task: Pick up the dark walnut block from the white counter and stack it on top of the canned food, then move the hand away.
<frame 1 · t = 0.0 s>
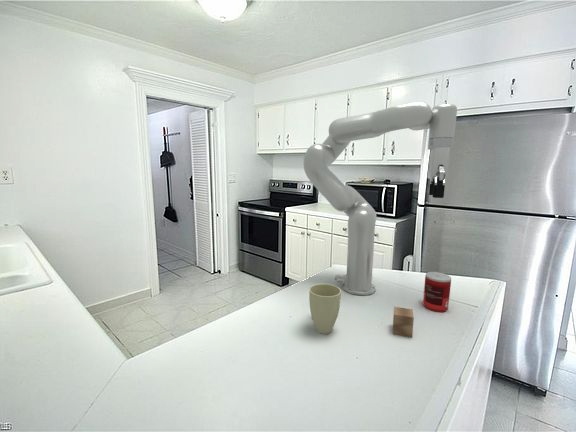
hand: (435, 196, 98), 37 cm above the worktop, tool pointing down, fingers open, 9 cm apart
walnut block: (402, 331, 83), on the worktop
canned food: (435, 307, 98), on the worktop
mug: (321, 327, 85), on the worktop
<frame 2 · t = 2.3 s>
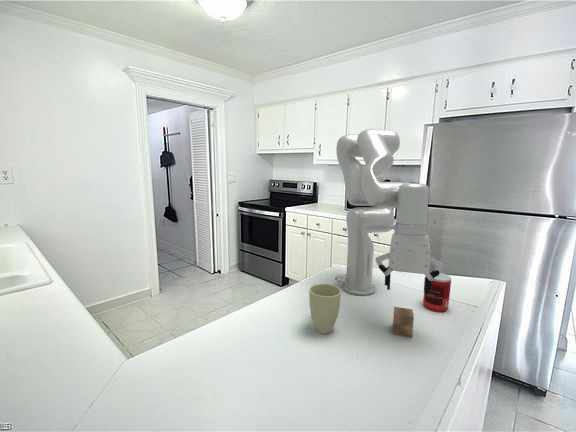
hand: (406, 290, 81), 13 cm above the worktop, tool pointing down, fingers open, 9 cm apart
nothing on the worktop moved.
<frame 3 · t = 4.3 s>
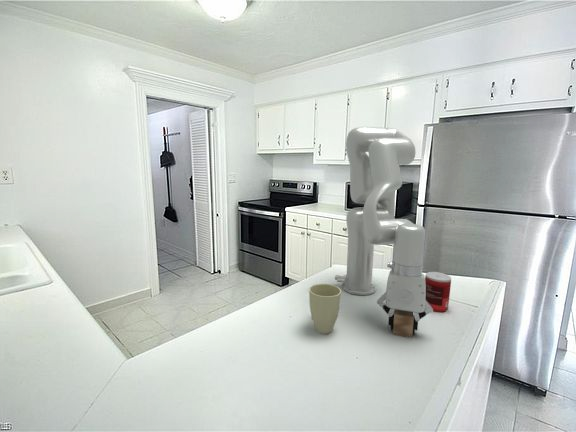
hand: (402, 329, 83), 1 cm above the worktop, tool pointing down, fingers closed on walnut block, 4 cm apart
walnut block: (402, 331, 83), on the worktop, touching gripper
everything else where it was.
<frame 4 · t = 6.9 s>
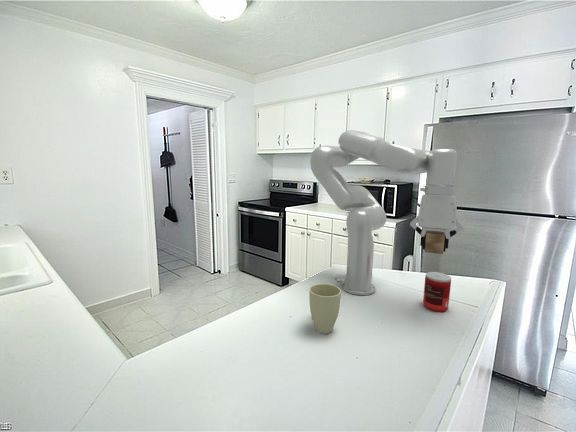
hand: (433, 248, 91), 21 cm above the worktop, tool pointing down, fingers closed on walnut block, 4 cm apart
walnut block: (433, 251, 91), point 21 cm above the worktop, touching gripper
everything else where it was.
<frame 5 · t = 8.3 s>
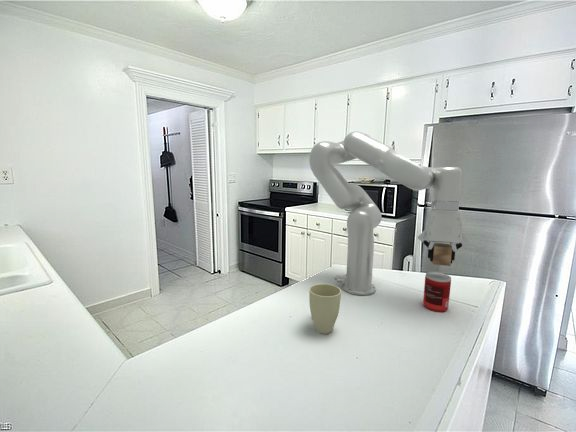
hand: (440, 260, 95), 16 cm above the worktop, tool pointing down, fingers closed on walnut block, 4 cm apart
walnut block: (440, 262, 95), point 16 cm above the worktop, touching gripper
everything else where it was.
when the fingers open (13 cm above the worktop, at t = 9.7 s): walnut block drops 1 cm, resting on canned food.
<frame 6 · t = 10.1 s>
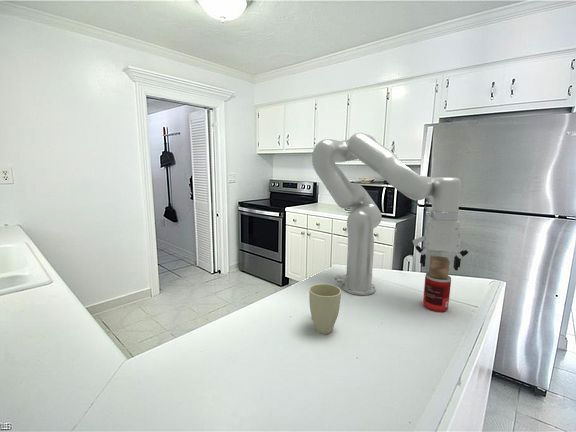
hand: (439, 267, 96), 14 cm above the worktop, tool pointing down, fingers open, 9 cm apart
walnut block: (438, 275, 96), point 11 cm above the worktop, touching canned food
canned food: (435, 307, 98), on the worktop, touching walnut block
everything else where it was.
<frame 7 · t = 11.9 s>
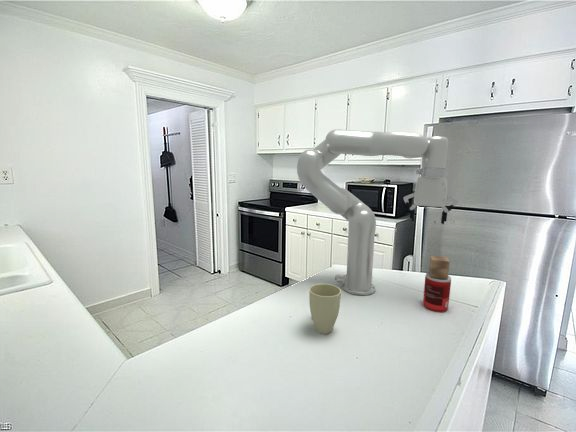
hand: (427, 222, 104), 27 cm above the worktop, tool pointing down, fingers open, 9 cm apart
nothing on the worktop moved.
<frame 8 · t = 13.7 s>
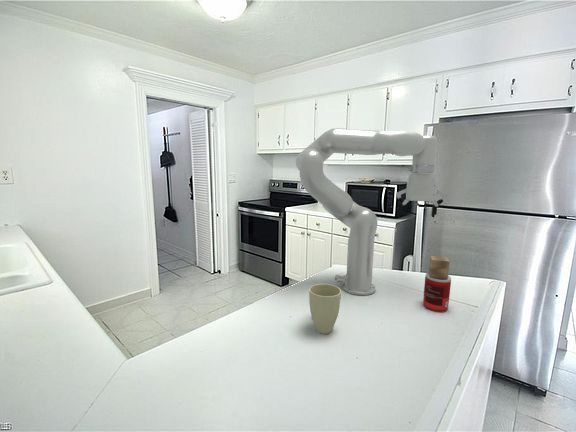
hand: (418, 215, 110), 28 cm above the worktop, tool pointing down, fingers open, 9 cm apart
nothing on the worktop moved.
at the end: walnut block inside the target area on the canned food (0.1 cm from its centre), point 11.2 cm above the canned food's base; walnut block tilted 0°; the gripper is holding nothing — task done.
